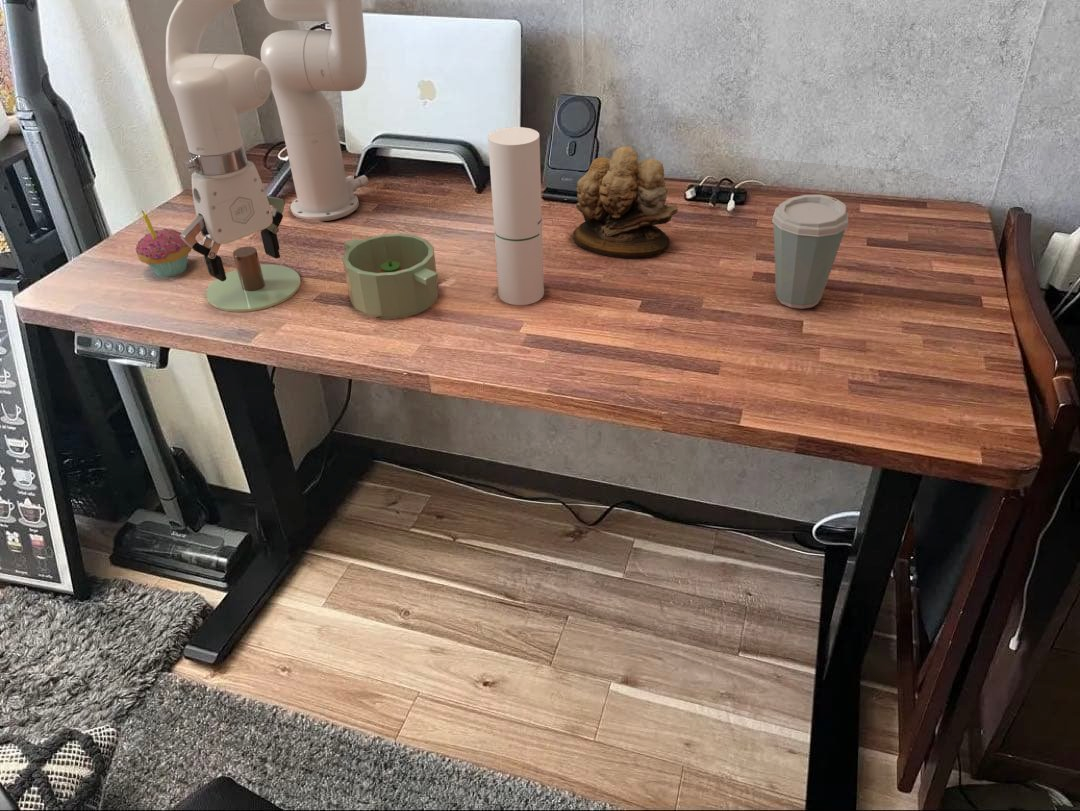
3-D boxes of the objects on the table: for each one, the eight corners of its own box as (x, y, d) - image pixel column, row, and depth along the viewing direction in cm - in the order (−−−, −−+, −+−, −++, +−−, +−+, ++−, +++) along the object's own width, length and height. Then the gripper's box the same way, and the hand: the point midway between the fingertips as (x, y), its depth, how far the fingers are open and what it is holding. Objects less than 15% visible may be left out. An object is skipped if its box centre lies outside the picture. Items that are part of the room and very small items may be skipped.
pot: (388, 263, 142) (382, 221, 138) (468, 298, 132) (464, 254, 127) (322, 294, 134) (313, 252, 130) (402, 335, 124) (396, 290, 119)
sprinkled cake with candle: (180, 286, 138) (158, 217, 130) (134, 282, 139) (109, 214, 132) (207, 261, 144) (187, 195, 137) (162, 258, 146) (140, 192, 139)
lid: (267, 261, 144) (257, 223, 139) (320, 288, 136) (311, 247, 132) (189, 295, 135) (177, 255, 131) (241, 325, 127) (229, 284, 123)
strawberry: (395, 284, 135) (391, 250, 132) (414, 292, 133) (409, 258, 129) (374, 295, 133) (369, 261, 129) (393, 303, 130) (388, 269, 127)
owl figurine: (682, 234, 147) (690, 138, 137) (665, 265, 139) (672, 164, 128) (584, 221, 153) (584, 127, 142) (562, 250, 144) (561, 152, 134)
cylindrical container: (550, 285, 134) (546, 129, 119) (535, 308, 129) (529, 147, 114) (508, 279, 136) (499, 125, 121) (491, 301, 131) (480, 142, 116)
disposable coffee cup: (792, 323, 123) (809, 228, 114) (745, 291, 131) (758, 200, 122) (847, 304, 127) (868, 211, 118) (799, 274, 135) (814, 185, 126)
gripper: (178, 183, 115) (210, 295, 125) (285, 148, 125) (306, 254, 135) (150, 171, 119) (183, 280, 129) (256, 138, 129) (279, 241, 140)
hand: (246, 266), depth 132 cm, fingers open, 9 cm apart
